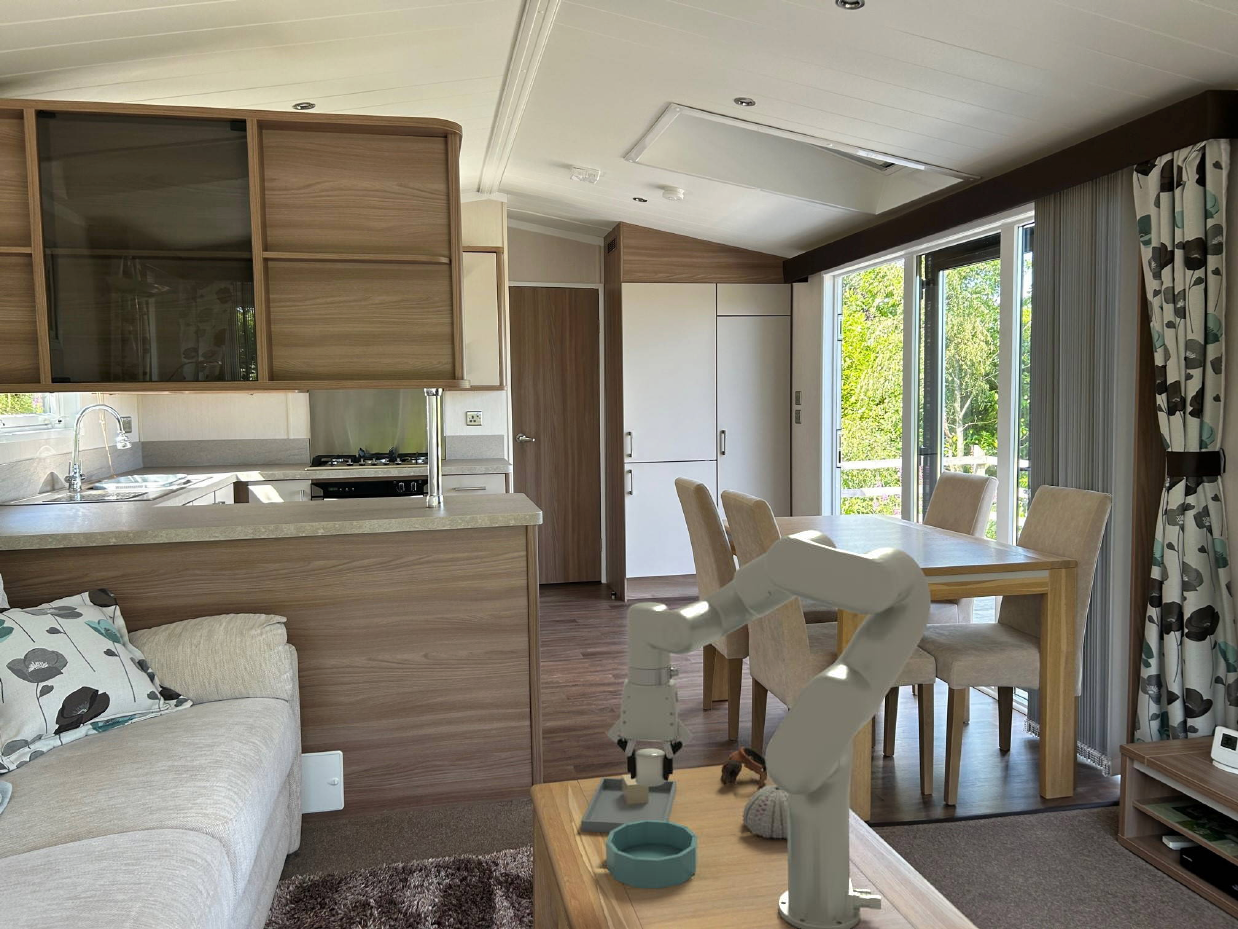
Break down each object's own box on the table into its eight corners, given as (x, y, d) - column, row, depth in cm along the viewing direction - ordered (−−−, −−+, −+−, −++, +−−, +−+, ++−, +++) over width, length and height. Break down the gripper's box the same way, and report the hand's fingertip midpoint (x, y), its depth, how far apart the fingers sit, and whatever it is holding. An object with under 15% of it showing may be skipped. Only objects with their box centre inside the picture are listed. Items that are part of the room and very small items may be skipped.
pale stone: (666, 776, 160) (666, 749, 160) (663, 787, 155) (663, 759, 155) (637, 774, 161) (637, 748, 161) (633, 785, 156) (633, 758, 156)
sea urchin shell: (728, 829, 173) (727, 787, 173) (773, 808, 182) (773, 769, 182) (783, 852, 163) (782, 808, 163) (828, 829, 172) (827, 788, 172)
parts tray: (676, 792, 191) (676, 780, 191) (664, 838, 169) (664, 825, 169) (602, 789, 194) (602, 777, 193) (581, 834, 172) (581, 821, 172)
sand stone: (642, 792, 190) (642, 773, 190) (648, 802, 184) (648, 783, 184) (622, 794, 189) (622, 775, 189) (627, 804, 184) (627, 785, 184)
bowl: (700, 848, 165) (699, 822, 165) (693, 891, 150) (692, 862, 149) (615, 843, 168) (615, 818, 167) (600, 885, 152) (600, 857, 152)
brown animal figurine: (730, 772, 203) (749, 742, 202) (761, 801, 198) (780, 770, 196) (702, 774, 194) (721, 743, 193) (734, 804, 188) (754, 772, 187)
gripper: (699, 670, 160) (700, 771, 160) (604, 667, 163) (606, 767, 163) (696, 682, 152) (697, 788, 153) (597, 678, 155) (598, 783, 156)
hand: (650, 776), depth 158 cm, fingers closed on pale stone, 5 cm apart
